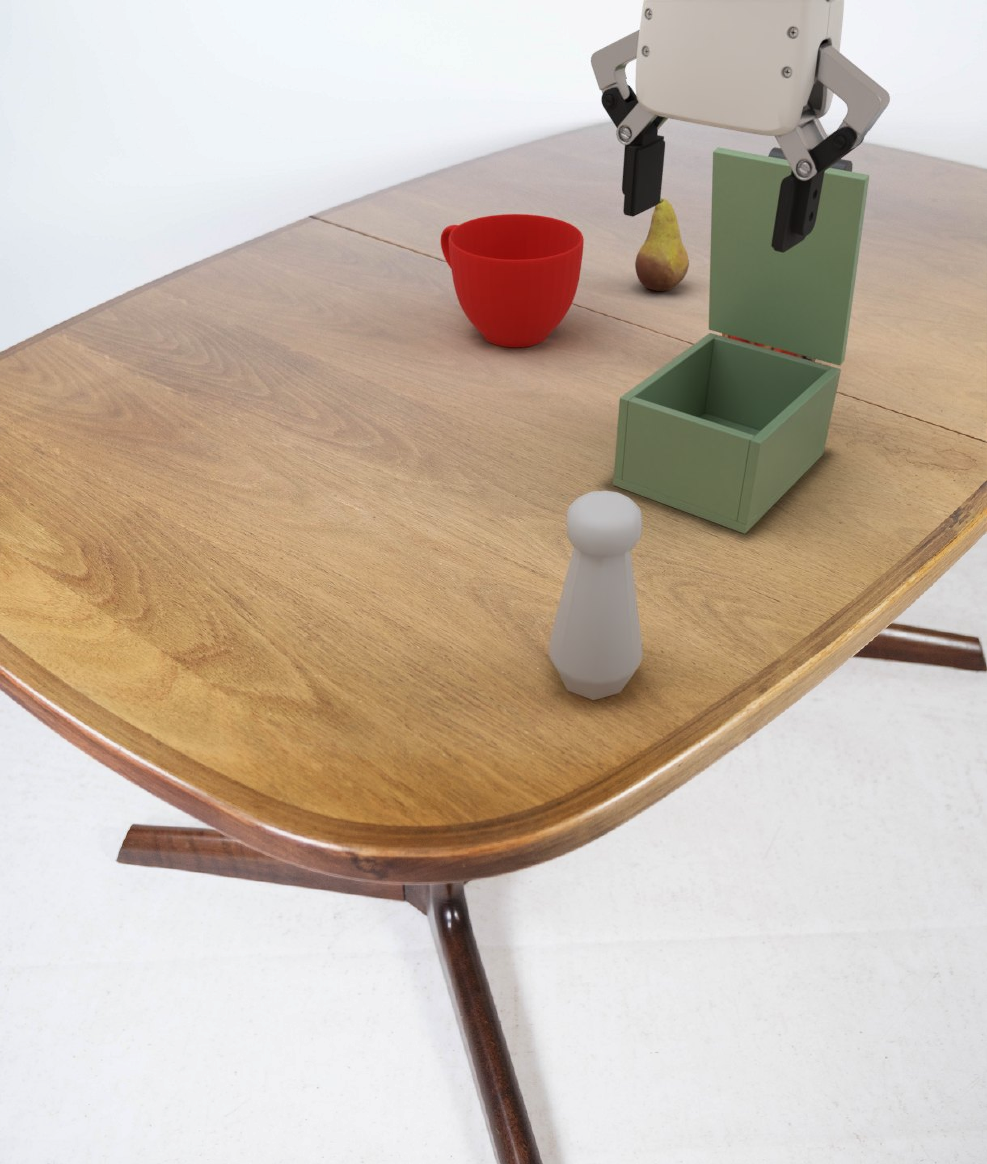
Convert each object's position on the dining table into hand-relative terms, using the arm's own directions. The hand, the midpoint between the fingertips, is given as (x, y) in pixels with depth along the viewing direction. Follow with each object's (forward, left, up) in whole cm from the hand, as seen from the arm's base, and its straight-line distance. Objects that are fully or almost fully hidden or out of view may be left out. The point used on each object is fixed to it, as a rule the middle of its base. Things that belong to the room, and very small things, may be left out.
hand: (712, 227), depth 63 cm
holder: (-10, -10, -24) cm, 28 cm away
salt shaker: (+10, +9, -24) cm, 28 cm away
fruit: (-22, -47, -24) cm, 57 cm away
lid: (-14, -13, -9) cm, 21 cm away
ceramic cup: (-2, -43, -24) cm, 49 cm away
